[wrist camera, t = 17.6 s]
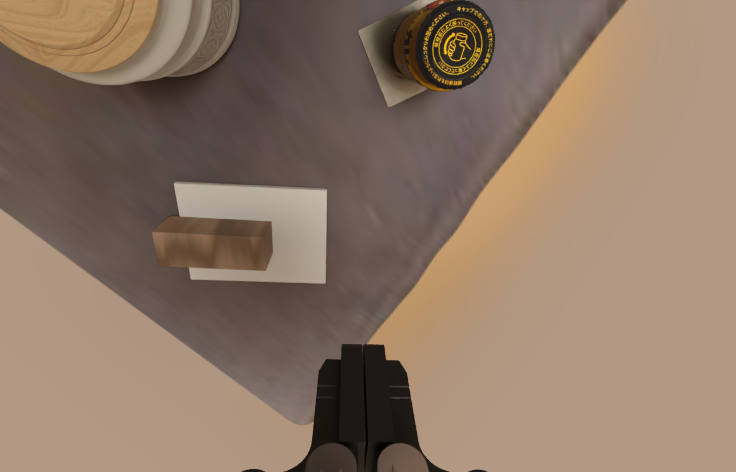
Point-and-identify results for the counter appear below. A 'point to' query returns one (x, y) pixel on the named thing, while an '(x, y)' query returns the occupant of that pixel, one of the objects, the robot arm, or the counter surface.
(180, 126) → the counter surface
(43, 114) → the counter surface
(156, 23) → the jar
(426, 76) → the condiment
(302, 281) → the mat
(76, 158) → the counter surface
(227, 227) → the block
